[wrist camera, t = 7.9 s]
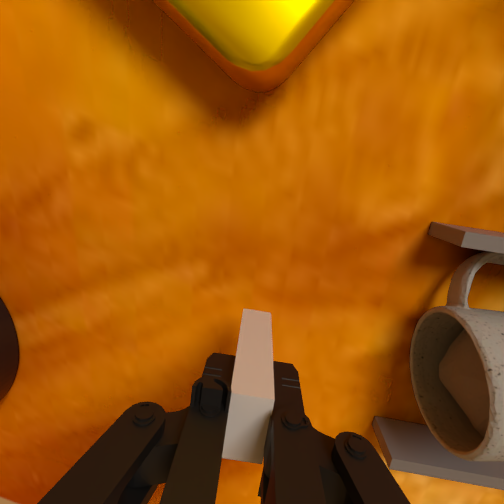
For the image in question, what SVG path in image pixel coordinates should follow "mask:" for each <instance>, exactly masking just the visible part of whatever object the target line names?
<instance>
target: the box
mask: <svg viewBox="0 0 504 504" xmlns="http://www.w3.org/2000/svg"><path fill="white" fill-rule="evenodd" d="M428 235H431V236H434V237H436V238H439V239H441V240H444V241H447V242H449V243H452V244H455V245H457V246H460V247H465V248H471V249H477V250H484V251H490V252H496V253H503V254H504V233H501V232H495V231H488V230H482V229H476V228H469V227H463V226H456V225H450V224H444V223H437V222H432V223H431V226H430V230H429V233H428ZM372 426H373V429H374V431H375V434H376V437H377V439H378V442H379V444H380V447H381V449H382V452H383V455H384V457H385V460H386V462H387V465H388V467H389V469H393V470H398V471H403V472H409V473H414V474H420V475H425V476H430V477H436V478H441V479H447V480H452V481H458V482H463V483H468V484H474V485H479V486H485V487H490V488H495V489H501V490H504V461H467V460H464V459H462V458H459V457H457V456H455V455H453V454H452V453H450V452H448V451H447V450H446V449H445V448H444V447H443V446H442V445H441V444H440V443H439V442H438V440H437V439H436V438H435V437H434V435H433V434H432V433H431V431H430V429H429V427H428V426H427V425H422V424H417V423H411V422H405V421H400V420H394V419H389V418H383V417H377V416H375V417H374V420H373V424H372Z"/></svg>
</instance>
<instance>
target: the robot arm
mask: <svg viewBox="0 0 504 504" xmlns="http://www.w3.org/2000/svg"><path fill="white" fill-rule="evenodd" d="M17 366H18V342H17V336H16V332H15V329H14V325H13V322H12V320H11V317H10V315H9V313H8V311H7V309H6V307H5V305H4V303H3V302H2V300H1V298H0V400H1V399H2V398H3V397H4V396H5V395H6V393H7V392H8V390H9V389H10V387H11V385H12V383H13V381H14V378H15V375H16V371H17ZM263 456H264V467H263V472H262V477H261V482H260V487H259V492H258V496H260V497H261V504H410V502H409V501H408V499H407V498H406V496H405V494H404V493H403V491H402V490H401V488H400V487H399V485H398V484H397V482H396V481H395V479H394V477H393V476H392V474H391V473H390V471H389V470H388V468H387V467H386V465H385V464H384V462H383V460H382V459H381V457H380V456H379V454H378V453H377V451H376V450H375V448H374V447H373V446H372V444H371V443H370V442H369V441H368V440H367V439H365V438H364V437H362V436H361V435H358V434H356V433H353V432H342V433H339V434H338V435H337V436H336V438H335V439H334V438H332V437H329V436H327V435H325V434H323V433H321V432H319V431H317V430H316V429H315V428H313V427H312V425H311V422H310V420H309V418H308V417H307V416H306V415H305V413H304V406H303V400H302V394H301V389H300V382H299V376H298V371H297V370H296V369H295V367H294V366H293V364H290V363H283V362H277V361H273V348H272V324H271V313H269V312H263V311H256V310H250V309H243V314H242V321H241V327H240V333H239V340H238V346H237V352H236V356H233V355H226V354H220V353H213V354H212V355H211V356H210V357H209V358H208V359H207V362H206V365H205V368H204V371H203V374H202V377H201V378H200V379H198V380H196V381H195V383H194V384H193V386H192V394H191V403H190V406H188V407H187V408H185V409H183V410H180V411H176V412H168V413H165V411H164V409H163V408H162V406H160V405H158V404H157V403H153V402H140V403H137V404H135V405H132V406H131V407H130V408H128V409H127V410H126V411H125V412H124V413H123V414H122V415H121V416H120V417H119V418H118V419H117V420H116V421H115V422H114V424H113V425H112V426H111V427H110V428H109V429H108V430H107V431H106V432H105V433H104V434H103V435H102V436H101V437H100V438H99V439H98V440H97V441H96V442H95V443H94V445H93V446H92V447H91V448H90V449H89V450H88V451H87V452H86V453H85V454H84V455H83V456H82V457H81V458H80V459H79V460H78V461H77V462H76V463H75V465H74V466H73V467H72V468H71V469H70V470H69V471H68V472H67V473H66V474H65V475H64V476H63V477H62V478H61V479H60V480H59V481H58V482H57V483H56V484H55V486H54V487H53V488H52V489H51V490H50V491H49V492H48V493H47V494H46V495H45V496H44V497H43V498H42V499H41V500H40V501H39V502H38V503H37V504H147V503H148V502H149V500H150V498H151V497H152V495H153V493H154V492H155V490H156V488H157V486H158V484H161V483H166V484H165V488H164V491H163V494H162V497H161V500H160V503H159V504H215V500H216V493H217V486H218V480H219V473H220V466H221V459H222V458H226V459H232V460H239V461H245V462H252V463H258V464H262V461H263Z"/></svg>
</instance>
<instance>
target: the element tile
mask: <svg viewBox="0 0 504 504" xmlns="http://www.w3.org/2000/svg"><path fill="white" fill-rule="evenodd" d="M152 1H153V2H155V3H156V4H157V5H158V6H159V7H160V8H161V9H162V10H163V11H164V12H165V13H166V14H167V15H168V16H169V17H170V18H171V19H172V20H173V21H174V22H175V23H176V24H177V25H178V26H179V27H180V28H181V29H182V30H183V31H184V32H185V33H186V34H187V35H188V36H189V37H190V38H191V39H192V40H193V41H194V42H195V43H196V44H197V45H198V46H199V47H200V48H201V49H202V50H203V51H204V52H205V53H206V54H207V55H208V56H209V57H210V58H211V59H212V60H213V61H214V62H215V63H216V64H217V65H218V66H219V67H220V68H221V69H222V70H223V71H224V72H225V73H226V74H227V75H228V76H229V77H230V78H231V79H232V80H233V81H234V82H236V83H237V84H238V85H240V86H241V87H243V88H245V89H248V90H250V91H253V92H268V91H270V90H272V89H274V88H276V87H278V86H280V85H281V84H282V83H283V82H284V81H285V80H286V79H288V78H289V77H290V75H291V74H292V73H293V72H294V71H295V70H296V68H297V67H298V66H299V65H300V64H301V62H302V61H303V60H304V59H305V58H306V57H307V55H308V54H309V53H310V52H311V51H312V49H313V48H314V47H315V46H316V45H317V44H318V42H319V41H320V40H321V39H322V38H323V37H324V35H325V34H326V33H327V32H328V31H329V29H330V28H331V27H332V26H333V25H334V24H335V22H336V21H337V20H338V19H339V18H340V17H341V15H342V14H343V13H344V12H345V11H346V9H347V8H348V7H349V6H350V5H351V4H352V2H353V1H354V0H152Z"/></svg>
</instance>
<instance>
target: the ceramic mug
mask: <svg viewBox="0 0 504 504" xmlns="http://www.w3.org/2000/svg"><path fill="white" fill-rule="evenodd" d="M486 263H494V264H501V265H504V254H503V253H496V252H490V251H486V252H483V253H479V254H476V255H473V256H471V257H469V258H468V259H466V260H465V261H464V262H463V263H462V264H461V265H460V266H459V267H458V268H457V269H456V271H455V272H454V274H453V277H452V279H451V283H450V287H449V291H448V296H447V304H446V306H439V307H434V308H432V309H430V310H428V311H426V312H425V313H424V314H423V316H422V317H421V318H420V319H419V321H418V323H417V325H416V327H415V330H414V333H413V337H412V341H411V347H410V372H411V380H412V385H413V391H414V395H415V398H416V400H417V403H418V406H419V409H420V412H421V414H422V416H423V418H424V420H425V422H426V424H427V426H428V427H429V429H430V431H431V433H432V434H433V435H434V437H435V438H436V439H437V440H438V442H439V443H440V444H441V445H442V446H443V447H444V448H445V449H446V450H447V451H448V452H450V453H452V454H453V455H455V456H457V457H459V458H462V459H464V460H467V461H504V312H500V311H493V310H484V309H473V308H469V306H468V302H467V299H468V294H469V291H470V287H471V284H472V281H473V278H474V275H475V273H476V272H477V271H478V270H479V269H480V268H481V266H482V265H484V264H486Z"/></svg>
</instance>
